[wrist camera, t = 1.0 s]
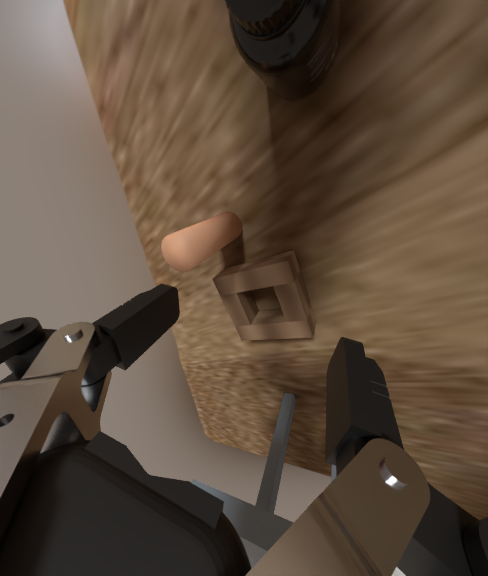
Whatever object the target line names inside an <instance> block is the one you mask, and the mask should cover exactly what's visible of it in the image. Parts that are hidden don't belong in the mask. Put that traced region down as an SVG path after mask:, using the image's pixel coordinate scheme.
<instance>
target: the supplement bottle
mask: <svg viewBox="0 0 488 576" xmlns="http://www.w3.org/2000/svg"><path fill="white" fill-rule="evenodd" d="M225 1H226V4H227V7H228V9H229V19H230V26H231V31H232V35H233V38H234V41H235V44H236V47H237V49H238V51H239V53H240V55H241V56H242V58H243V59H244V60H245V62H246V63H247V64H248V65H249V67H250V68H251V69H252V70H253V71H254V72H255V73H256V74H257V75H258V76H259V77H260V78H261V79H262V80H263V81H264V82H265V83H266V84H267V85H268V86H269V88H270V89H271V90H272V91H273V92H275V93H276V94H277V95H278V96H280V97H282V98H284V99H288V100H296V99H300V98H303V97H305V96H307V95H309V94H310V93H312V92H313V91H314V90H315V89H316V88H317V87H318V86H319V85H320V84H321V83H322V82H323V80H324V79H325V78H326V76H327V75H328V73H329V71H330V69H331V67H332V65H333V62H334V60H335V57H336V54H337V50H338V45H339V39H340V0H225Z"/></svg>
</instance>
